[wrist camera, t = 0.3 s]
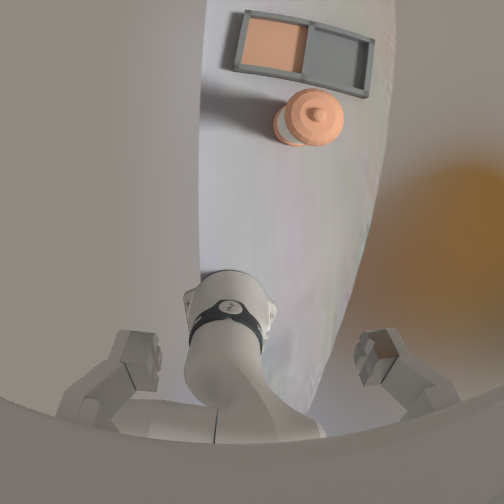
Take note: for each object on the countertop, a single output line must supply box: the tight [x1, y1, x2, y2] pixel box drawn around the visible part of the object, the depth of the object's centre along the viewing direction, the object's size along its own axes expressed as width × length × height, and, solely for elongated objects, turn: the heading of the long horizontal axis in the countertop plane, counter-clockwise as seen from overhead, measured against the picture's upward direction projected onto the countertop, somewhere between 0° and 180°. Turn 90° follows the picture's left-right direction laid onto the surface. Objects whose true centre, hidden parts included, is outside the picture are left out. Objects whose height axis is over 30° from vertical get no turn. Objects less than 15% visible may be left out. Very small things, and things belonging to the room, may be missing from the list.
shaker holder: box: [233, 10, 375, 99], centre depth 39 cm, size 12×23×2 cm, turn 81°
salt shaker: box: [273, 89, 344, 146], centre depth 37 cm, size 7×7×19 cm
